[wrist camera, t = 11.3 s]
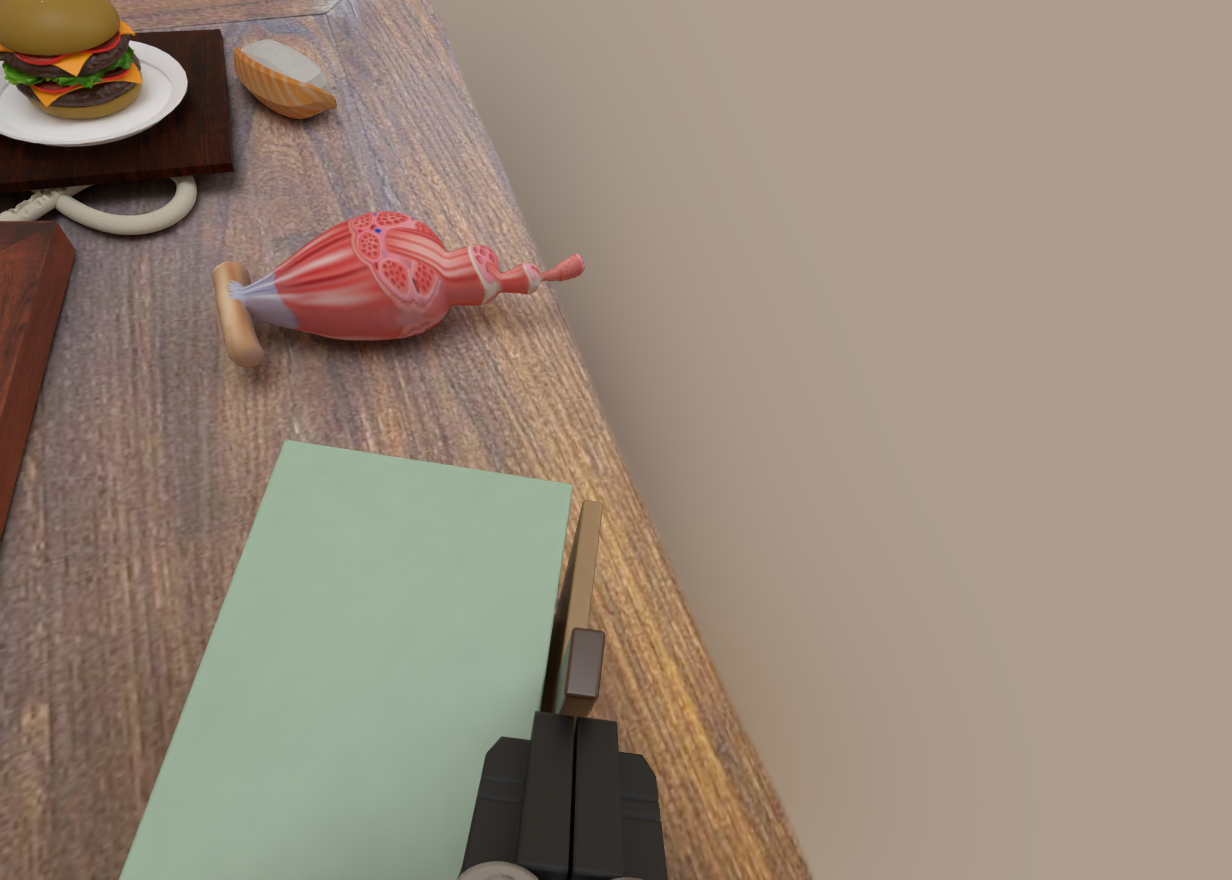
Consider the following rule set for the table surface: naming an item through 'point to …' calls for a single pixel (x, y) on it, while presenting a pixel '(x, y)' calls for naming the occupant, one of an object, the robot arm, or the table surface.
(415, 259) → the anatomical model
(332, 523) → the box
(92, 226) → the decorative object
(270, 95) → the sushi
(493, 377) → the table surface
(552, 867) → the robot arm
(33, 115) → the hamburger
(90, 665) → the table surface
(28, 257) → the picture frame
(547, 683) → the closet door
